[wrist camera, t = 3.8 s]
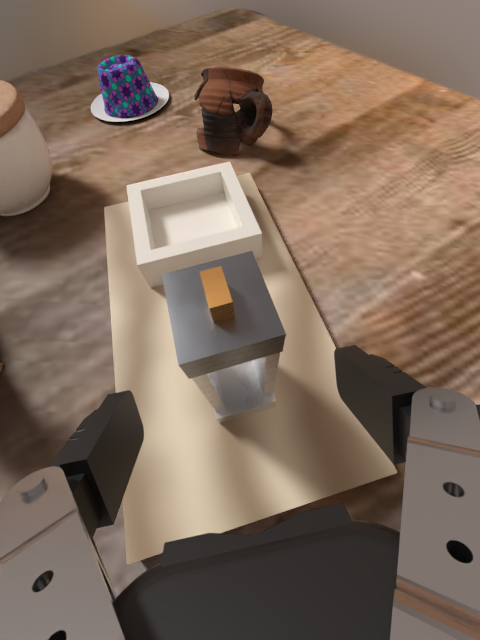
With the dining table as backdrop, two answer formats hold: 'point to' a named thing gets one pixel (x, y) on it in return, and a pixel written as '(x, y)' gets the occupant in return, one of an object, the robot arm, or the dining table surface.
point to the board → (236, 435)
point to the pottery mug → (231, 109)
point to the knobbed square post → (226, 333)
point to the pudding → (126, 90)
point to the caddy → (190, 221)
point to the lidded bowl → (21, 156)
